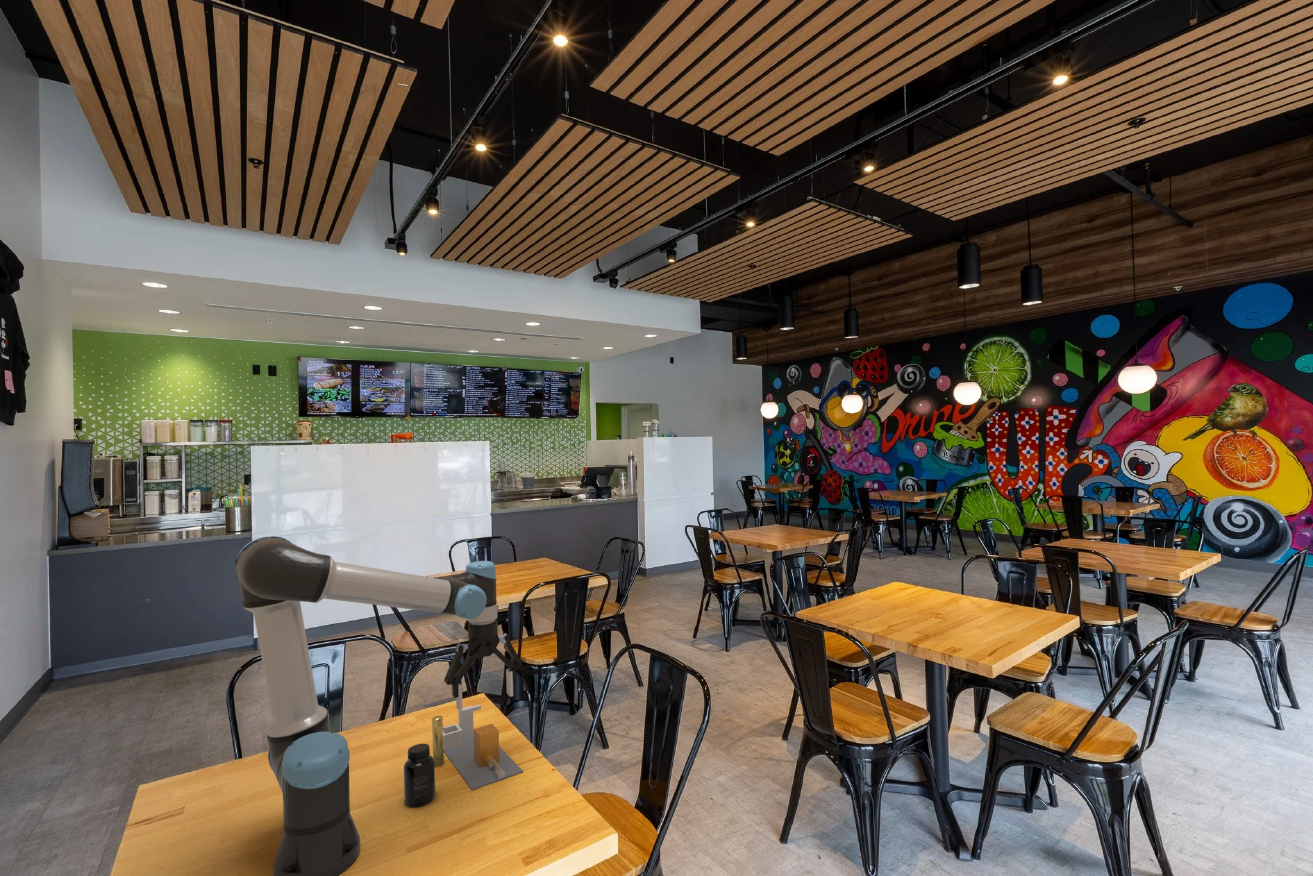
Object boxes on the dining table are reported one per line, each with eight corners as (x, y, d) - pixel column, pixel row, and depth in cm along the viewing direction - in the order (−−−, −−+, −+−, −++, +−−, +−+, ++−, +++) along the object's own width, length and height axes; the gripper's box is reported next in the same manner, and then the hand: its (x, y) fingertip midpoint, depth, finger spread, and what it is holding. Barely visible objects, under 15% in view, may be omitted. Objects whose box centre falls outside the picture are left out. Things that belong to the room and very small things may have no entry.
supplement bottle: (440, 791, 145) (439, 741, 145) (427, 808, 138) (425, 755, 138) (413, 790, 145) (412, 740, 145) (398, 807, 138) (397, 755, 139)
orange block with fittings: (511, 775, 150) (510, 742, 150) (492, 781, 147) (491, 749, 147) (492, 753, 161) (491, 723, 161) (474, 759, 158) (473, 729, 159)
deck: (523, 772, 152) (522, 739, 152) (472, 790, 145) (471, 755, 145) (483, 729, 177) (482, 701, 177) (437, 743, 169) (436, 713, 169)
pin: (444, 764, 157) (443, 718, 157) (434, 767, 156) (433, 721, 156) (442, 760, 159) (440, 714, 160) (432, 763, 158) (430, 717, 158)
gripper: (521, 609, 169) (524, 685, 169) (430, 627, 154) (432, 710, 154) (532, 614, 163) (535, 693, 162) (438, 634, 148) (441, 720, 148)
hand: (485, 702), depth 158 cm, fingers open, 13 cm apart
